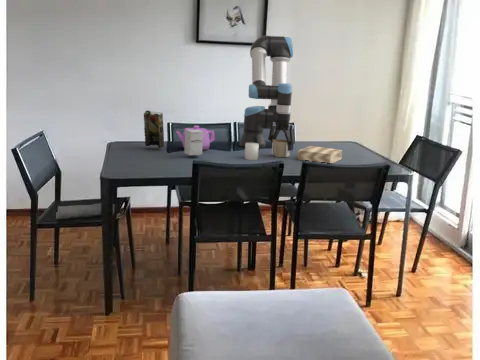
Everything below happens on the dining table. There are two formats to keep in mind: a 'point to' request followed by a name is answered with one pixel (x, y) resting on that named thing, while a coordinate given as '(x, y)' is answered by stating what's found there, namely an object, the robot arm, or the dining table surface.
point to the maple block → (319, 154)
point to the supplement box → (193, 142)
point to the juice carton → (153, 128)
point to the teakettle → (205, 136)
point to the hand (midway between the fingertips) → (280, 155)
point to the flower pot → (280, 147)
